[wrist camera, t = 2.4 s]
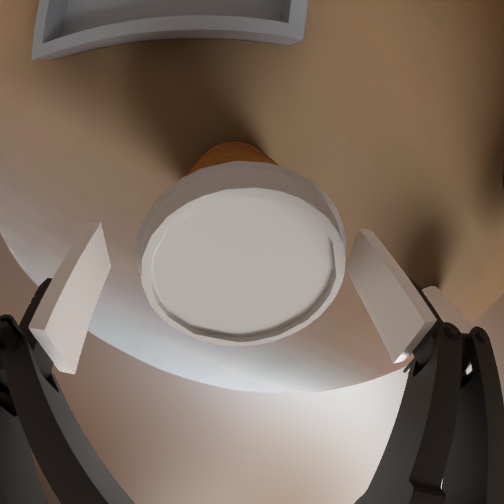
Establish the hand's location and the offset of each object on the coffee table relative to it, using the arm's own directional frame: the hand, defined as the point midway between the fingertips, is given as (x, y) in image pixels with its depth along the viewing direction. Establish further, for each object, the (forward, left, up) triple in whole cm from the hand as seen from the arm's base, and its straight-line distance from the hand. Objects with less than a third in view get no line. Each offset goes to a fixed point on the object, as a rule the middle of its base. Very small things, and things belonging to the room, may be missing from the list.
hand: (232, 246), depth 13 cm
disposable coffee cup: (0, 0, -9) cm, 9 cm away
